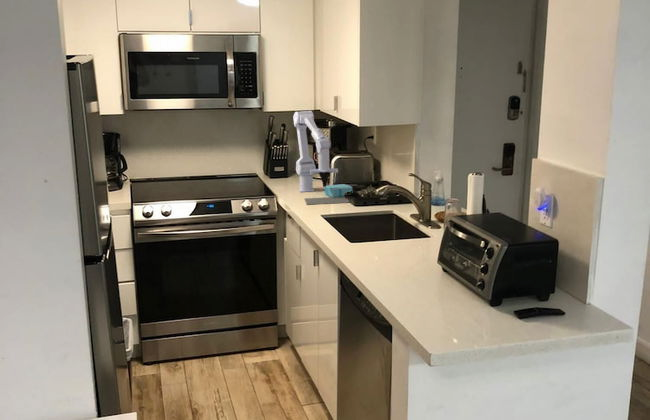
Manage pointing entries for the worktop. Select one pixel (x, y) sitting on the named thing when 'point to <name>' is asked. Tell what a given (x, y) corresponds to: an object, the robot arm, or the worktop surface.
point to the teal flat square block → (337, 190)
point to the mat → (326, 200)
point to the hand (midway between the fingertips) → (324, 186)
